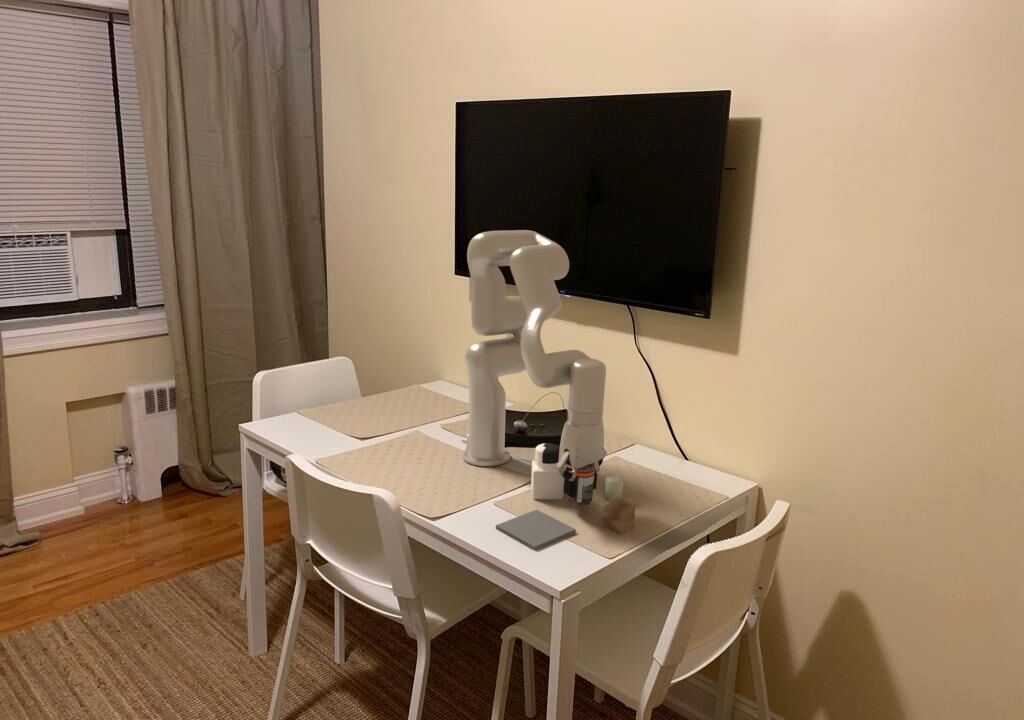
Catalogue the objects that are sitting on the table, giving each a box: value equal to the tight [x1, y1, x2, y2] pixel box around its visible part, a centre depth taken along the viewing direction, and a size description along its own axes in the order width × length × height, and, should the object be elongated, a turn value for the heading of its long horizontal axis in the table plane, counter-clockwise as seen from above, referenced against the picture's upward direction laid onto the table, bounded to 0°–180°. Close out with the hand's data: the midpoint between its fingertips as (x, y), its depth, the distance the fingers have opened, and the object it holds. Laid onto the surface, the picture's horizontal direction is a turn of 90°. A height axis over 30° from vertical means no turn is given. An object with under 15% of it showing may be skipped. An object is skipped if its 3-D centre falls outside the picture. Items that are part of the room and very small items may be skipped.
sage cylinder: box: [604, 475, 624, 503], centre depth 176 cm, size 4×4×5 cm
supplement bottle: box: [565, 464, 595, 507], centre depth 168 cm, size 6×6×11 cm
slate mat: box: [495, 509, 577, 551], centre depth 160 cm, size 12×12×1 cm
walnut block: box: [601, 499, 636, 536], centre depth 162 cm, size 5×5×5 cm
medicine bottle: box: [530, 442, 564, 501], centre depth 177 cm, size 7×7×12 cm
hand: (579, 490), depth 169 cm, fingers closed on supplement bottle, 6 cm apart
